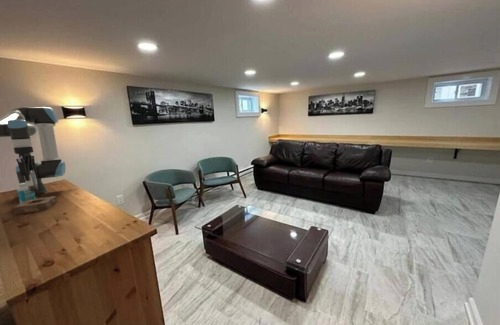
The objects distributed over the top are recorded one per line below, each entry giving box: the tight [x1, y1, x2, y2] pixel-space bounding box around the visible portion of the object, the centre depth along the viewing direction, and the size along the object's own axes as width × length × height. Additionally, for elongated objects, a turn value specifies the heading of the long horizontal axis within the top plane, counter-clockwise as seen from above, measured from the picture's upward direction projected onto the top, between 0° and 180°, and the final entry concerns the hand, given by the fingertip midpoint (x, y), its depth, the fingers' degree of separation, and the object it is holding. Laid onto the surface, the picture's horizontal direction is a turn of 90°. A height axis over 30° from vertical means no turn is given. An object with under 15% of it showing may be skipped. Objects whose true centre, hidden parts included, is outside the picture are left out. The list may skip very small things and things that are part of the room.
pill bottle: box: [16, 183, 37, 204], centre depth 135 cm, size 8×7×14 cm
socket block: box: [13, 195, 58, 215], centre depth 128 cm, size 14×14×4 cm
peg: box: [28, 170, 38, 191], centre depth 124 cm, size 4×4×12 cm
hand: (32, 184), depth 125 cm, fingers closed on peg, 4 cm apart
